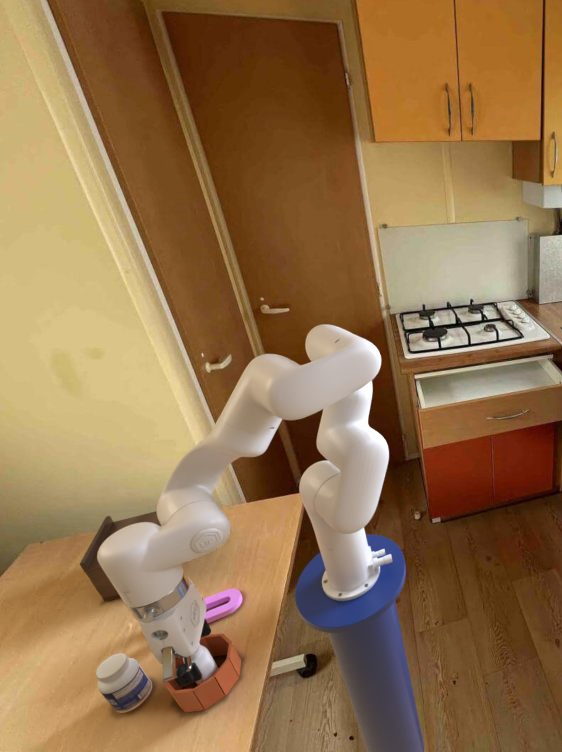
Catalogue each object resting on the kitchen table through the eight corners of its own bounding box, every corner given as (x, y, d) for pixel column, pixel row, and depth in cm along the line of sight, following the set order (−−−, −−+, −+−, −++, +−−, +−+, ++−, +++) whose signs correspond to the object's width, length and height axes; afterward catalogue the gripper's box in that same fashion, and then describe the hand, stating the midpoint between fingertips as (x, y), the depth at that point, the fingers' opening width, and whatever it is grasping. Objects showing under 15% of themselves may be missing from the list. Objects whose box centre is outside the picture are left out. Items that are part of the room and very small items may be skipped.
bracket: (167, 639, 84) (154, 618, 81) (171, 616, 89) (159, 594, 85) (242, 609, 90) (232, 587, 87) (242, 588, 94) (233, 567, 91)
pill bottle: (111, 698, 75) (86, 667, 71) (148, 673, 79) (127, 642, 74) (118, 721, 72) (92, 690, 68) (156, 694, 76) (134, 663, 71)
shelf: (185, 536, 107) (168, 501, 102) (171, 581, 96) (150, 544, 90) (127, 552, 103) (105, 516, 98) (104, 601, 92) (79, 564, 86)
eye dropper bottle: (224, 660, 81) (203, 621, 75) (223, 688, 76) (201, 649, 71) (197, 672, 79) (173, 633, 73) (194, 702, 74) (169, 663, 69)
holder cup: (243, 643, 84) (234, 624, 81) (236, 697, 75) (226, 678, 72) (185, 664, 80) (173, 646, 77) (170, 723, 72) (157, 705, 69)
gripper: (173, 633, 61) (212, 699, 69) (198, 543, 75) (228, 606, 83) (107, 655, 58) (156, 721, 66) (147, 557, 72) (183, 621, 80)
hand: (196, 657), depth 74 cm, fingers open, 7 cm apart
